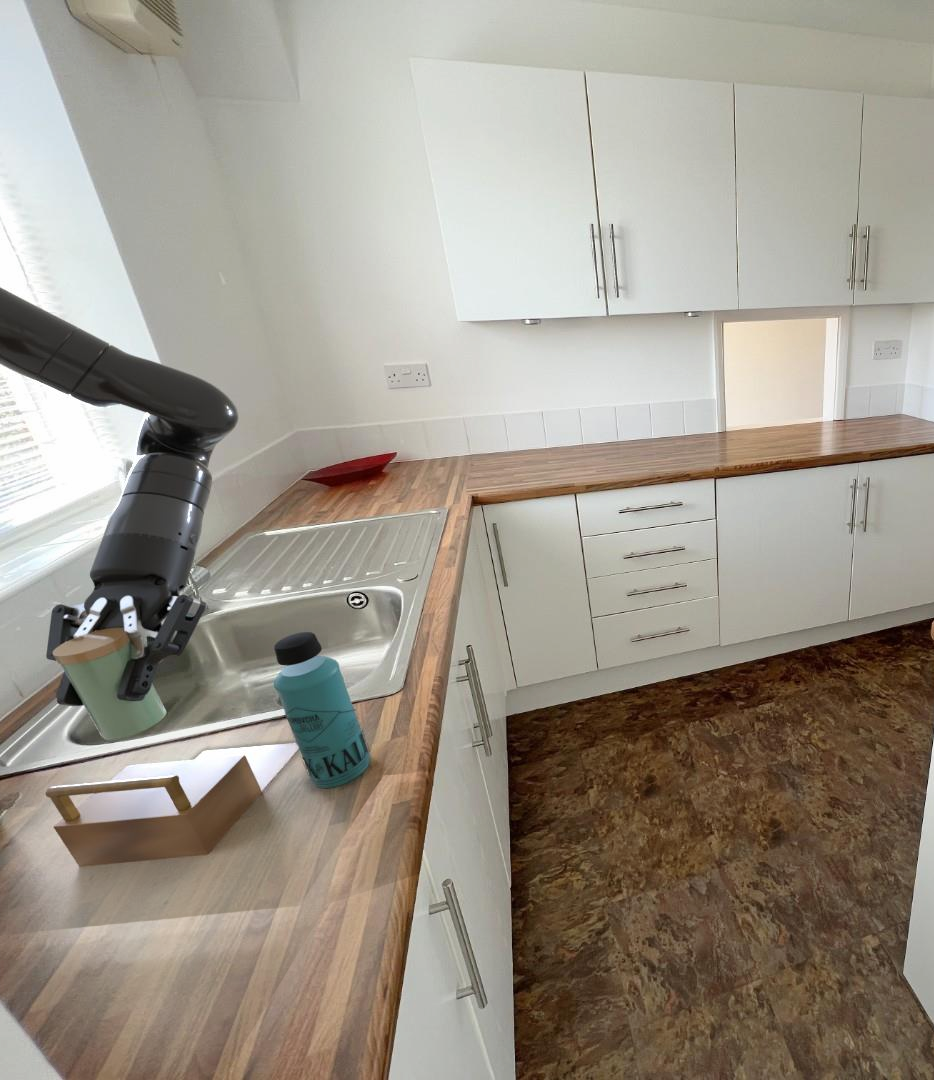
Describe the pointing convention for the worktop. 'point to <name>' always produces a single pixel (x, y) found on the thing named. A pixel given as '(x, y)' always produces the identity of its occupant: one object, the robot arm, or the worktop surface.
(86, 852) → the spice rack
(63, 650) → the spice jar
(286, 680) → the beverage bottle
